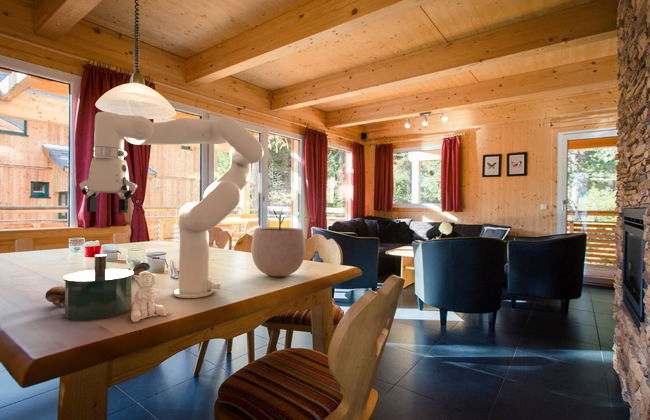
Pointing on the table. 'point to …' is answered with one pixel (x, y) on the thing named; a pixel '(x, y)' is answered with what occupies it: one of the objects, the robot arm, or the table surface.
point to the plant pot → (278, 249)
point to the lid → (99, 273)
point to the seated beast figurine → (145, 299)
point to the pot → (98, 299)
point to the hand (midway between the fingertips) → (107, 212)
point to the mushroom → (56, 295)
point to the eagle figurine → (139, 268)
